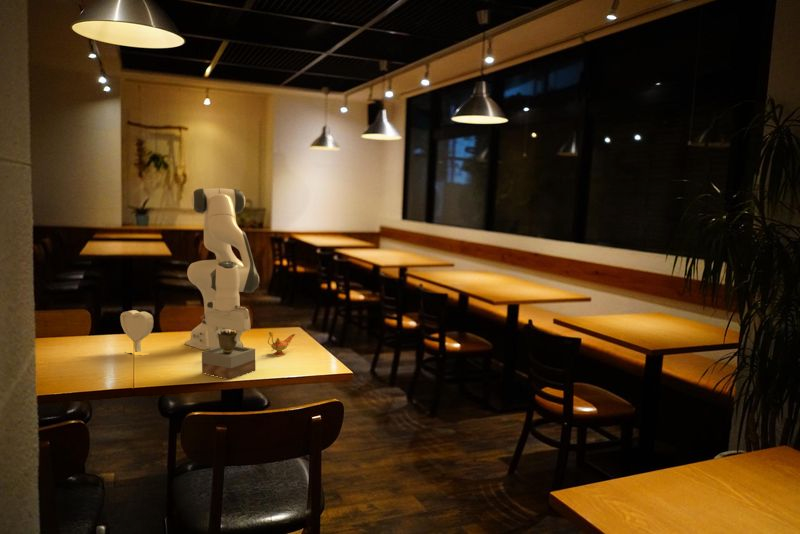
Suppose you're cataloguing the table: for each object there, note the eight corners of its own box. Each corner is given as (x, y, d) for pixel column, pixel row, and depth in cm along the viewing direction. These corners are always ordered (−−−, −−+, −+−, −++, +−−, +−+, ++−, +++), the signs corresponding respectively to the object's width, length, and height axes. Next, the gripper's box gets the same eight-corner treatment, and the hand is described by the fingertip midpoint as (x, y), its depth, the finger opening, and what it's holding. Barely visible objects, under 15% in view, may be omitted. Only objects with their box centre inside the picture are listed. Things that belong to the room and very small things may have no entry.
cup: (232, 356, 225) (232, 335, 225) (214, 354, 227) (214, 333, 226) (241, 351, 233) (241, 331, 232) (223, 350, 234) (224, 329, 233)
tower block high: (201, 362, 226) (201, 352, 226) (226, 354, 239) (226, 344, 238) (230, 368, 220) (230, 357, 220) (255, 359, 233) (255, 348, 232)
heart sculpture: (119, 352, 255) (118, 310, 253) (129, 349, 260) (128, 308, 257) (146, 357, 248) (145, 314, 246) (155, 354, 253) (154, 312, 251)
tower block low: (202, 374, 228) (202, 362, 227) (228, 366, 240) (228, 354, 240) (229, 381, 221) (229, 368, 221) (255, 371, 234) (255, 359, 233)
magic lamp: (301, 349, 266) (301, 325, 265) (274, 359, 251) (274, 333, 249) (288, 347, 270) (289, 323, 268) (261, 356, 254) (261, 331, 252)
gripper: (254, 306, 225) (254, 342, 227) (214, 300, 235) (214, 334, 237) (242, 308, 220) (242, 345, 222) (202, 302, 230) (202, 337, 231)
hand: (227, 339), depth 229 cm, fingers open, 8 cm apart
